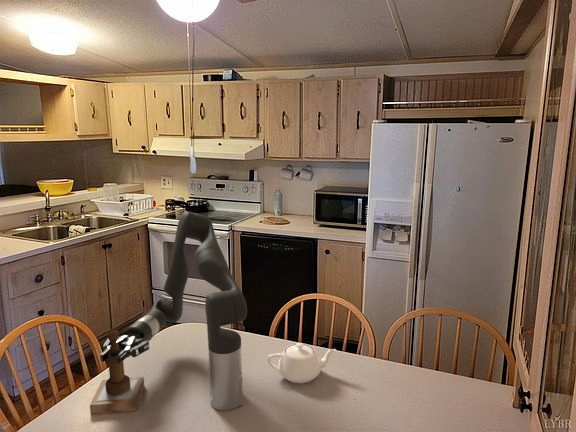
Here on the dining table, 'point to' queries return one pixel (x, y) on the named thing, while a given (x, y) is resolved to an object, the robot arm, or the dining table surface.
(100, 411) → the plinth
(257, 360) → the dining table surface
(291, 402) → the dining table surface
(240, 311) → the robot arm
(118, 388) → the brown pepper mill
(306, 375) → the teapot
